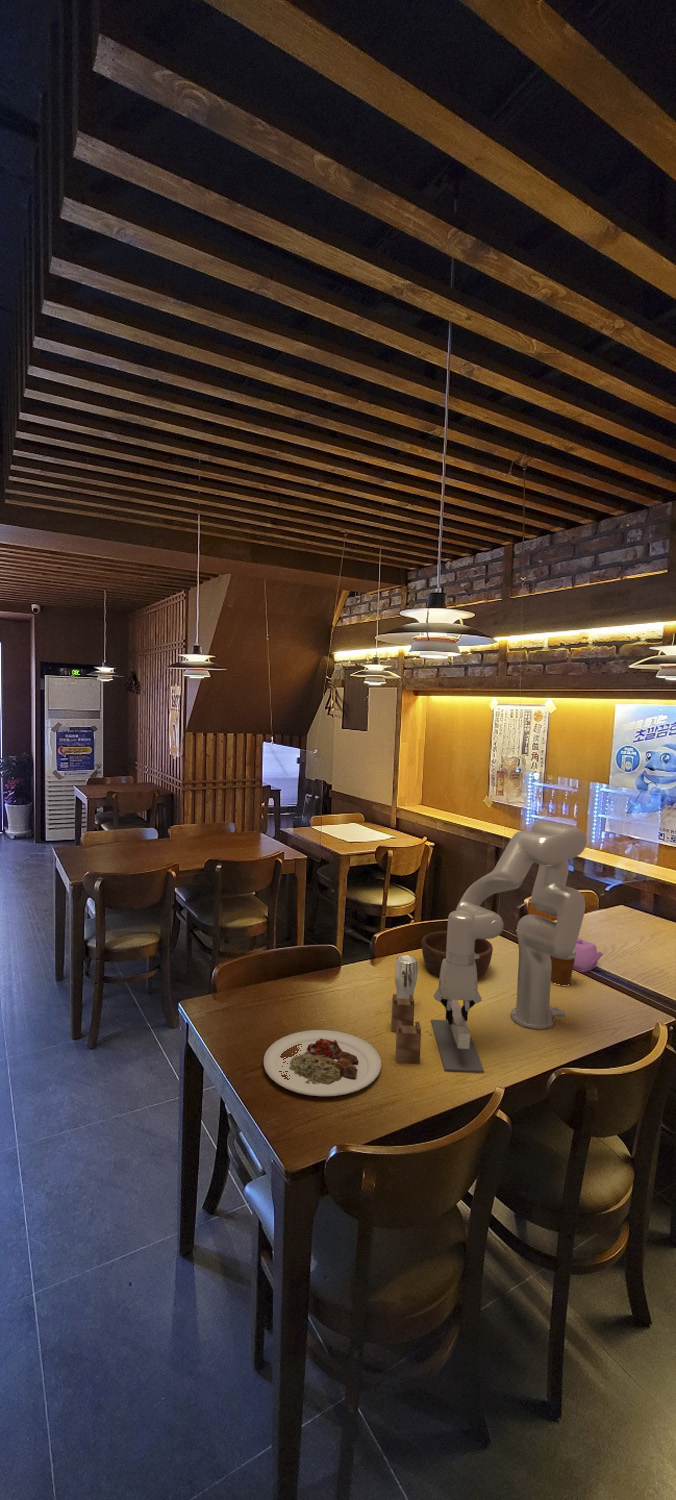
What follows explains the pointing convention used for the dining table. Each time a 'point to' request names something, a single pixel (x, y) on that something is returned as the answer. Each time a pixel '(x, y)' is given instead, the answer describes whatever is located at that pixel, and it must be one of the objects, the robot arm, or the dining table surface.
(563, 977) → the disposable coffee cup
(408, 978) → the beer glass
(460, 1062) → the mat
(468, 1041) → the rail
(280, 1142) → the dining table surface
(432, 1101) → the dining table surface
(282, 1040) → the plated food
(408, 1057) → the post
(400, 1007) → the post
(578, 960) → the teapot
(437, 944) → the wooden bowl
